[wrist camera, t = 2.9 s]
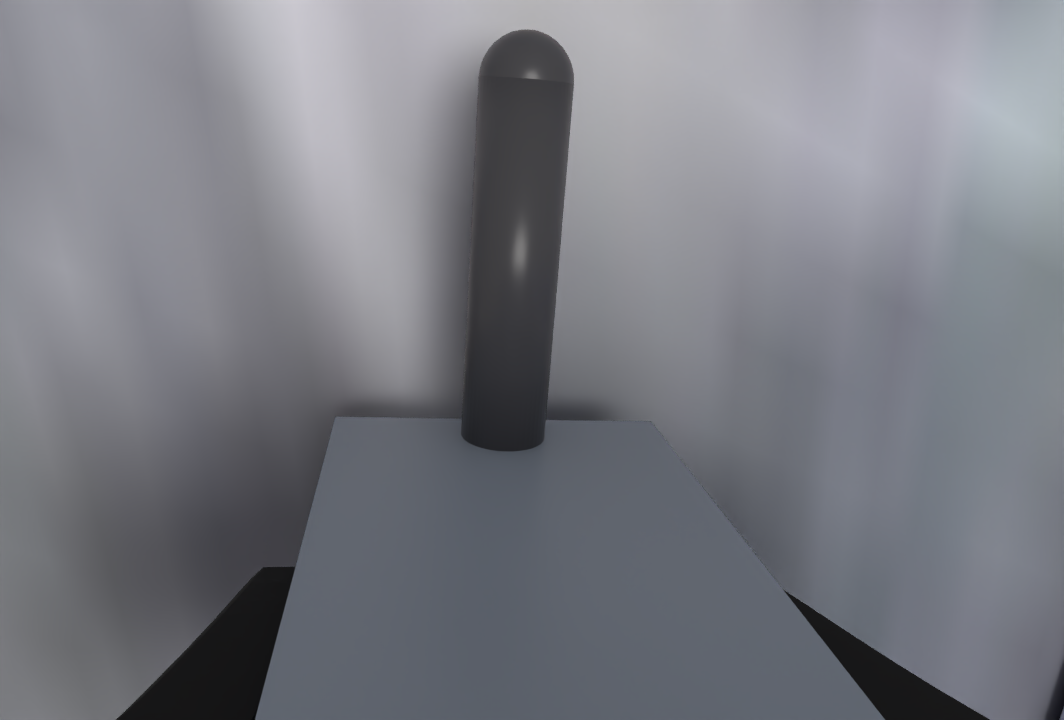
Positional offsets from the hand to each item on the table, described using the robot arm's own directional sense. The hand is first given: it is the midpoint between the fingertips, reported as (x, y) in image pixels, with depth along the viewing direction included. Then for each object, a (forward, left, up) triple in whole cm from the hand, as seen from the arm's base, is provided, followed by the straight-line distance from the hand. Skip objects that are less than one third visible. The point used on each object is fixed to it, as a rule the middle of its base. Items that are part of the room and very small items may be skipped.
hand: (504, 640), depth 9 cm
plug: (0, -2, -2) cm, 3 cm away
